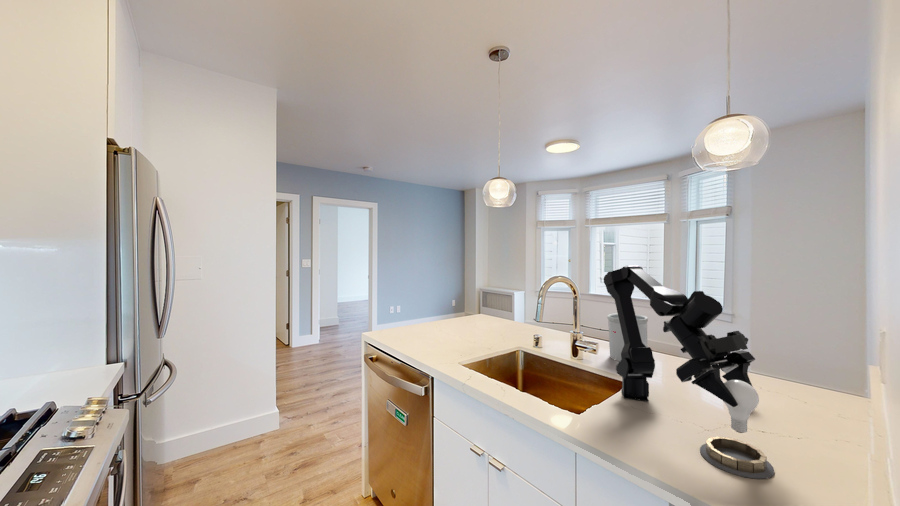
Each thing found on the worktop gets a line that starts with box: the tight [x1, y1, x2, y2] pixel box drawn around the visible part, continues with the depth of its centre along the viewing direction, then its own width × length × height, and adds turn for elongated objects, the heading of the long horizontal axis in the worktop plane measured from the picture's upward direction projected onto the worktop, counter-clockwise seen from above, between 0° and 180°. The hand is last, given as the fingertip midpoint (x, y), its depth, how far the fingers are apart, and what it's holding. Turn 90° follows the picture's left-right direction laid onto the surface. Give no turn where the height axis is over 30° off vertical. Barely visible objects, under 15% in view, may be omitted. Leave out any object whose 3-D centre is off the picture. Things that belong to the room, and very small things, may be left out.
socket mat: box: [699, 443, 775, 480], centre depth 73 cm, size 12×12×1 cm
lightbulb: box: [722, 380, 760, 434], centre depth 73 cm, size 6×6×11 cm
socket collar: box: [705, 436, 768, 473], centre depth 73 cm, size 10×10×2 cm
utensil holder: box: [607, 312, 649, 363], centre depth 141 cm, size 15×15×18 cm
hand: (746, 403), depth 72 cm, fingers closed on lightbulb, 6 cm apart
